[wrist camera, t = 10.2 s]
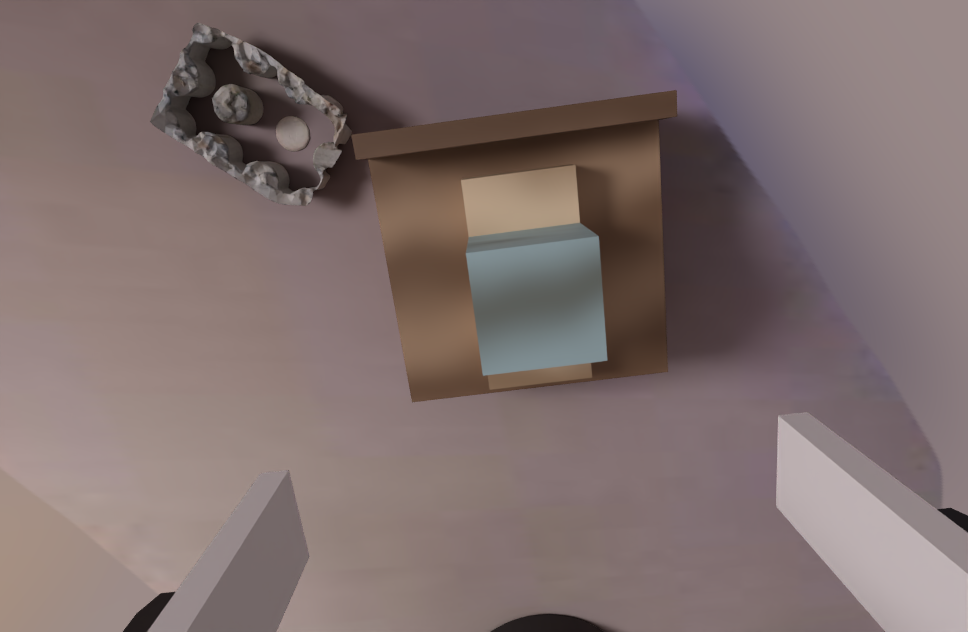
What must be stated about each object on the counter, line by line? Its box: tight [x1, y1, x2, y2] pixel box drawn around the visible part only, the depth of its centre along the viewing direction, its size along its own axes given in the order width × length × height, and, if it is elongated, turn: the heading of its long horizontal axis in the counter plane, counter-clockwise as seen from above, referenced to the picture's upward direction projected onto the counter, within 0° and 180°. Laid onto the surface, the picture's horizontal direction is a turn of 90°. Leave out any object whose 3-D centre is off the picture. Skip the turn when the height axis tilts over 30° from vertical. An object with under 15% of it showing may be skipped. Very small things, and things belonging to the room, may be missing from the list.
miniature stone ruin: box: [150, 23, 352, 206], centre depth 35 cm, size 11×8×4 cm
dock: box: [351, 90, 677, 402], centre depth 34 cm, size 16×16×10 cm
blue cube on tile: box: [461, 164, 607, 390], centre depth 29 cm, size 12×6×7 cm, turn 7°
